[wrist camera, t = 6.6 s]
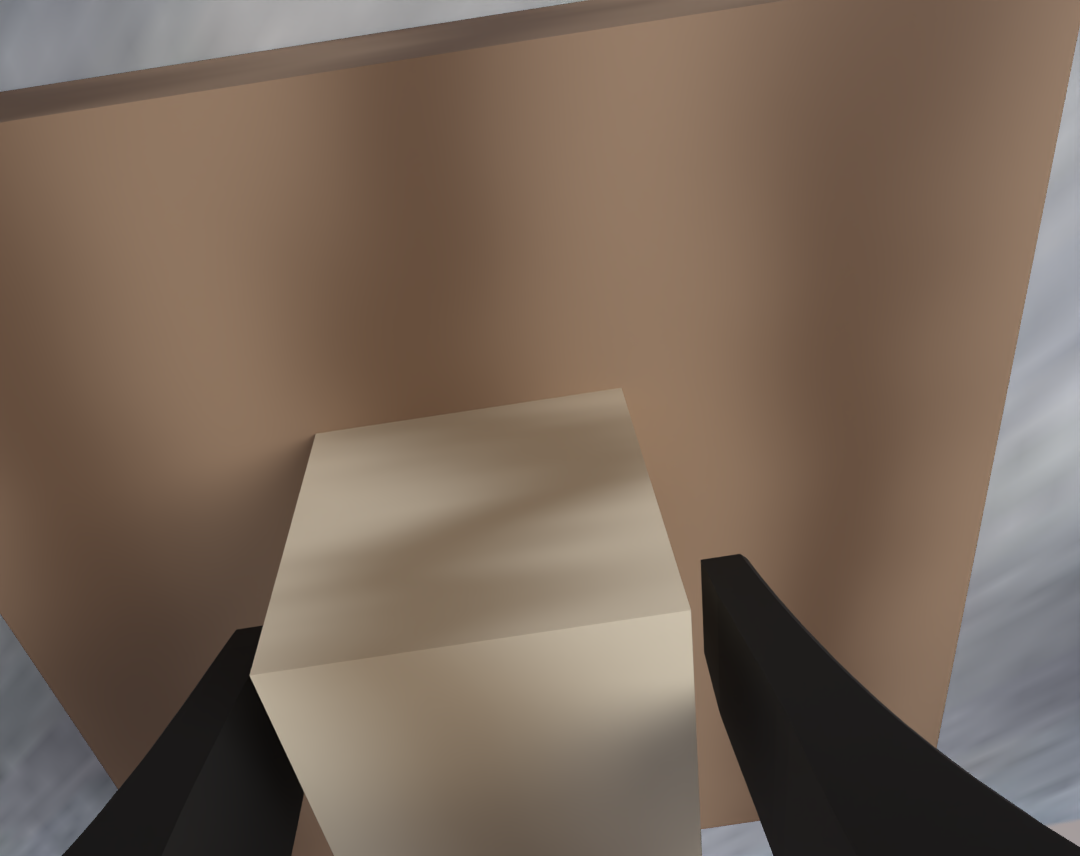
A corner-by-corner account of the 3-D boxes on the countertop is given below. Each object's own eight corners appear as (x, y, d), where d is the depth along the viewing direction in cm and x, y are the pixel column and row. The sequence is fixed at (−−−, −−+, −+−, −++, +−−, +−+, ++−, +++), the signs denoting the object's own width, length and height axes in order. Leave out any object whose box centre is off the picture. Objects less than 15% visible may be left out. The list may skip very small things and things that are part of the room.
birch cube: (621, 388, 14) (691, 610, 9) (640, 608, 16) (702, 858, 12) (315, 433, 14) (249, 674, 9) (386, 646, 16) (358, 908, 12)
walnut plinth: (974, -60, 13) (1093, -48, 11) (876, 696, 23) (927, 796, 20) (-155, 116, 13) (-299, 168, 11) (224, 793, 23) (195, 903, 21)
